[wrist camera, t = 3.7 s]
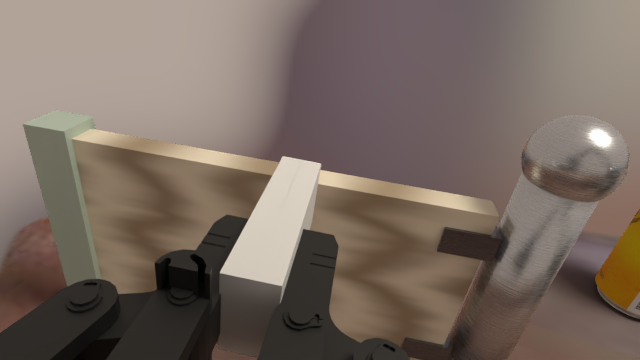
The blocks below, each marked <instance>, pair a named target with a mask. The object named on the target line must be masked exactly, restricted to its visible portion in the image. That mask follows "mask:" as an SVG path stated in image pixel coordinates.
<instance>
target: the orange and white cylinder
mask: <svg viewBox="0 0 640 360" xmlns="http://www.w3.org/2000/svg"><path fill="white" fill-rule="evenodd" d="M595 281H596V284H597V289H598V292H599V294H600V295H601V296H602V298H603V299H604V300H605V301H606V302H607V303H609V304H610V305H611V306H612V307H614V308H615V309H617V310H619V311H620V312H622V313H624V314H626V315H629V316H631V317H634V318H637V319H640V209H639V211H638V212H637V214H636V215H635V217H634V218H633V220H632V221H631V223H630V224H629V226H628V228H627V229H626V231H625V232H624V234H623V235H622V237H621V238H620V240H619V241H618V243H617V244H616V246H615V247H614V249H613V251H612V252H611V254H610V255H609V257H608V258H607V260H606V261H605V263H604V264H603V266H602V267H601V269H600V271H599V272H598V274H597V275H596V277H595Z"/></svg>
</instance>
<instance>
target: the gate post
mask: <svg viewBox="0 0 640 360" xmlns="http://www.w3.org/2000/svg"><path fill="white" fill-rule="evenodd" d="M629 163H630V154H629V150H628V146H627V144H626V142H625V140H624V138H623V137H622V135H621V134H620V133H619V132H618V131H617V130H616V129H615V128H614V127H613V126H611V125H610V124H608V123H607V122H605V121H603V120H600V119H598V118H595V117H590V116H585V115H569V116H563V117H559V118H556V119H553V120H551V121H549V122H547V123H545V124H543V125H542V126H541V127H539V128H538V129H537V130H536V131H535V132H533V134H532V135H531V136H530V137H529V139H528V140H527V142H526V144H525V146H524V149H523V151H522V156H521V167H522V174H521V176H520V178H519V181H518V183H517V185H516V188H515V190H514V192H513V194H512V196H511V199H510V201H509V203H508V205H507V208H506V210H505V212H504V214H503V217H502V219H501V221H500V224H499V226H498V228H497V229H498V231H499V233H500V235H501V238H502V241H501V243H500V245H499V248H498V250H497V252H496V254H495V256H494V258H493V261H492V262H488V261H483V262H482V264H481V267H480V269H479V271H478V273H477V276H476V278H475V280H474V282H473V285H472V287H471V289H470V291H469V294H468V296H467V298H466V300H465V303H464V305H463V307H462V310H461V312H460V314H459V316H458V319H457V321H456V323H455V325H454V328H453V330H452V332H451V334H450V341H451V346H452V350H451V352H450V355H449V357H448V359H447V360H507V359H508V358H509V356H510V354H511V352H512V351H513V349H514V347H515V346H516V344H517V342H518V340H519V339H520V337H521V335H522V333H523V332H524V330H525V328H526V327H527V325H528V323H529V321H530V320H531V318H532V316H533V315H534V313H535V311H536V309H537V308H538V306H539V304H540V302H541V301H542V299H543V297H544V296H545V294H546V292H547V290H548V289H549V287H550V285H551V283H552V282H553V280H554V278H555V277H556V275H557V273H558V271H559V270H560V268H561V266H562V265H563V263H564V261H565V259H566V258H567V256H568V254H569V252H570V251H571V249H572V247H573V246H574V244H575V242H576V240H577V239H578V237H579V235H580V234H581V232H582V230H583V228H584V227H585V225H586V223H587V221H588V220H589V218H590V216H591V215H592V213H593V211H594V209H595V208H596V206H597V204H598V202H599V201H600V200H601V199H603V198H605V197H607V196H608V195H610V194H611V193H612V192H614V191H615V190H616V189H617V188H618V187H619V186H620V184H621V183H622V182H623V180H624V178H625V176H626V174H627V172H628V168H629Z"/></svg>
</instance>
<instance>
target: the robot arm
mask: <svg viewBox="0 0 640 360" xmlns="http://www.w3.org/2000/svg"><path fill="white" fill-rule="evenodd" d="M320 168H321V164H320V163H315V162H310V161H305V160H299V159H294V158H289V157H284V156H283V157H282V159H281V161H280V163H279V165H278V166H277V168H276V170H275V172H274V174H273V176H272V177H271V179H270V181H269V183H268V185H267V187H266V188H265V190H264V192H263V194H262V196H261V198H260V199H259V201H258V203H257V205H256V207H255V209H254V210H253V212H252V214H251V216H250V218H249V219H247V218H242V217H237V216H232V215H225V216H224V217H222V218H220V219H219V220H217V221H216V222H214V224H213V225H212V227H211V228H210V230H209V231H208V233H207V235H205V237H204V238H203V240H202V242H201V243H200V244H199V246H198V247H197V249H196V250H186V249H182V250H177V251H172V252H169V253H167V254H165V255H163V256H161V257H160V258H159V259H158V260H157V261H156V262H154V263H155V274H156V285H157V289H156V290H154V291H151V292H144V293H127V294H118V292H117V288H116V286H115V285H113V284H112V283H111V282H110V281H106V280H103V279H87V280H83V281H80V282H76V283H74V284H72V285H70V286H68V287H66V288H64V289H63V290H61V291H60V292H58V293H57V294H55V295H54V296H53V297H51V298H50V299H48V300H47V301H45V302H44V303H43V304H41V305H40V306H38V307H37V308H35V309H34V310H33V311H31V312H30V313H28V314H27V315H25V316H24V317H23V318H21V319H20V320H18V321H17V322H15V323H14V324H12V325H11V326H10V327H8V328H7V329H5V330H4V331H2V332H1V333H0V360H212V350H213V348H214V346H215V344H216V341H217V339H218V349H221V350H226V351H230V352H235V353H239V354H244V355H248V356H253V357H257V358H258V359H257V360H410V359H409V357H408V355H407V354H406V353H405V352H404V351H403V350H402V349H401V348H400V347H399V346H398V345H397V344H395V343H393V342H391V341H389V340H387V339H381V338H371V339H366V340H364V341H363V342H361V343H360V342H358V341H356V340H354V339H352V338H351V337H349V336H347V335H346V334H344V333H343V332H341V331H340V330H339V329H338V328H337V327H336V326H335V324H334V322H333V321H332V319H331V316H330V313H329V305H330V299H331V292H332V286H333V280H334V273H335V267H336V260H337V254H338V248H339V246H338V244H337V241H336V239H335V237H334V235H331V234H326V233H321V232H316V231H311V230H310V227H311V223H312V218H313V212H314V206H315V199H316V193H317V187H318V181H319V175H320Z"/></svg>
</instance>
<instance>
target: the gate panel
mask: <svg viewBox="0 0 640 360" xmlns="http://www.w3.org/2000/svg"><path fill="white" fill-rule="evenodd" d="M23 127H24V130H25V134H26V138H27V141H28V145H29V149H30V152H31V156H32V159H33V163H34V167H35V170H36V174H37V178H38V181H39V185H40V189H41V192H42V196H43V200H44V203H45V207H46V210H47V214H48V218H49V221H50V225H51V229H52V232H53V236H54V240H55V243H56V247H57V251H58V254H59V258H60V261H61V265H62V269H63V272H64V276H65V280H66V283H67V287H68V286H70V285H72V284H74V283H76V282H80V281H83V280H87V279H103V280H106V281H110V282H111V283H112V284H113V285H115V286H116V288H117V292H118V294H127V293H144V292H151V291H154V290H156V289H157V285H156V274H155V263H154V262H156V261H157V260H158V259H159V258H160V257H161V256H163V255H165V254H167V253H169V252H172V251H177V250H182V249H186V250H196V249H197V247H198V246H199V244H200V243H201V242H202V240H203V238H204V237H205V235H207V233H208V231H209V230H210V228H211V227H212V225H213V224H214V222H216V221H217V220H219V219H220V218H222V217H224V216H225V215H232V216H237V217H242V218H247V219H249V218H250V216H251V214H252V212H253V210H254V209H255V207H256V205H257V203H258V201H259V199H260V198H261V196H262V194H263V192H264V190H265V188H266V187H267V185H268V183H269V181H270V179H271V177H272V176H273V174H274V172H275V170H276V168H277V166H278V165H279V162H273V161H267V160H262V159H256V158H251V157H245V156H239V155H234V154H228V153H223V152H217V151H211V150H206V149H200V148H195V147H190V146H184V145H178V144H173V143H167V142H161V141H156V140H150V139H145V138H139V137H134V136H128V135H123V134H117V133H111V132H106V131H101V130H96V128H95V123H94V118H93V117H91V116H85V115H79V114H74V113H68V112H62V111H56V110H55V111H53V112H50V113H48V114H46V115H43V116H41V117H39V118H36V119H34V120H31V121H29V122H26V123H24V124H23ZM499 218H500V216H499V214H498V212H497V210H496V208H495V206H494V204H493V202H492V201H490V200H484V199H478V198H473V197H467V196H462V195H456V194H451V193H445V192H440V191H434V190H428V189H423V188H418V187H412V186H406V185H401V184H395V183H390V182H384V181H378V180H373V179H368V178H362V177H356V176H351V175H345V174H340V173H334V172H328V171H323V170H320V175H319V181H318V187H317V193H316V199H315V206H314V212H313V218H312V223H311V227H310V230H311V231H316V232H321V233H326V234H331V235H334V237H335V239H336V241H337V244H338V246H339V248H338V254H337V260H336V267H335V273H334V280H333V286H332V292H331V299H330V305H329V313H330V316H331V319H332V321H333V322H334V324H335V326H336V327H337V328H338V329H339V330H340V331H341V332H343V333H344V334H346V335H347V336H349V337H351V338H352V339H354V340H356V341H358V342H360V343H361V342H363V341H364V340H366V339H371V338H381V339H387V340H389V341H391V342H393V343H395V344H397V345H398V346H399V347H400V348H401V349H402V350H403V351H404V352H405V353H406V354H407V355H408V357H409V359H410V360H447V359H448V357H449V355H450V352H451V350H452V346H451V341H450V336H449V332H450V330H451V327H452V325H453V323H454V320H455V318H456V316H457V314H458V311H459V309H460V307H461V304H462V302H463V300H464V298H465V295H466V293H467V291H468V288H469V286H470V284H471V282H472V279H473V277H474V275H475V272H476V270H477V268H478V266H479V263H480V261H481V260H483V261H488V262H492V261H493V258H494V256H495V254H496V252H497V250H498V248H499V245H500V243H501V241H502V238H501V235H500V233H499V231H498V229H497V227H496V224H497V222H498V220H499Z"/></svg>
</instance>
